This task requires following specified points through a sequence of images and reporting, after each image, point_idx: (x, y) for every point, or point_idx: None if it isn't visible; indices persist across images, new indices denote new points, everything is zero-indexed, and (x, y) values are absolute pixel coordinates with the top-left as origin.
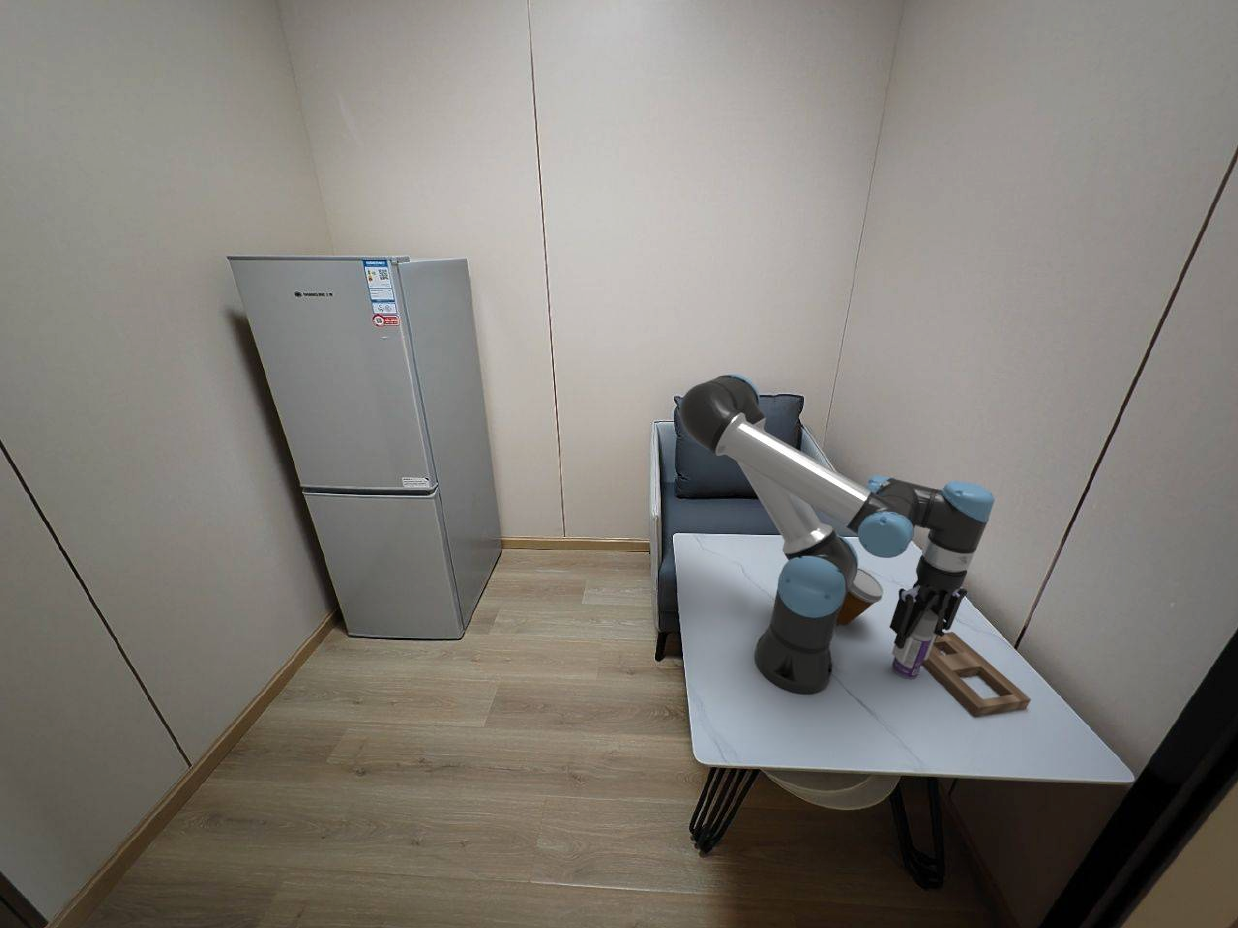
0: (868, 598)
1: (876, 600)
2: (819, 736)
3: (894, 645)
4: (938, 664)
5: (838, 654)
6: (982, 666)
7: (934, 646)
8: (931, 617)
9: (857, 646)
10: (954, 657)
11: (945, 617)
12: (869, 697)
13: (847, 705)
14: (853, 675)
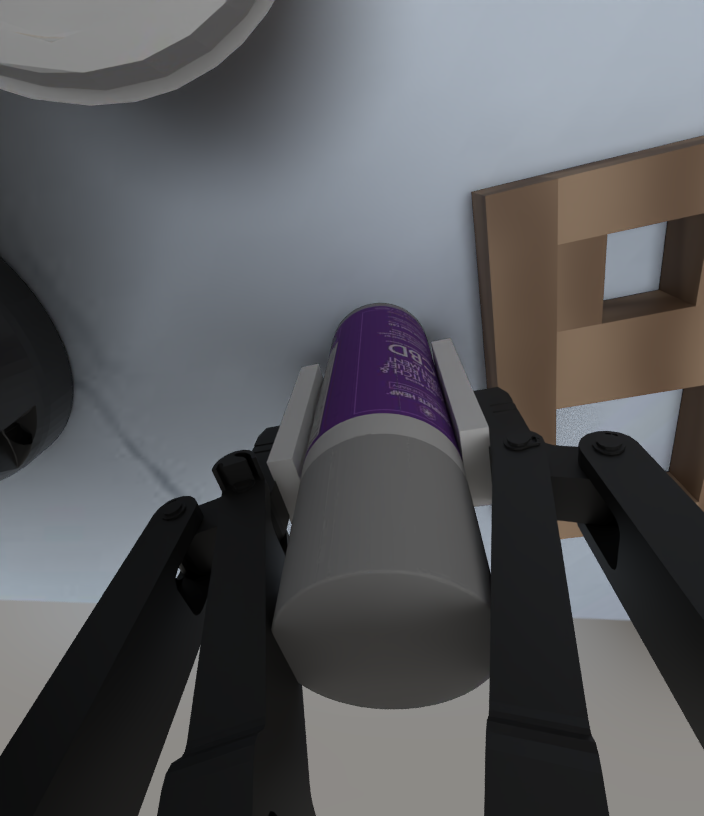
0: (56, 87)
1: (190, 60)
2: (41, 560)
3: (293, 390)
4: (516, 382)
5: (117, 277)
6: None
7: (600, 262)
8: (411, 683)
9: (218, 214)
10: (642, 335)
11: (623, 572)
12: (196, 463)
13: (121, 489)
14: (162, 384)
